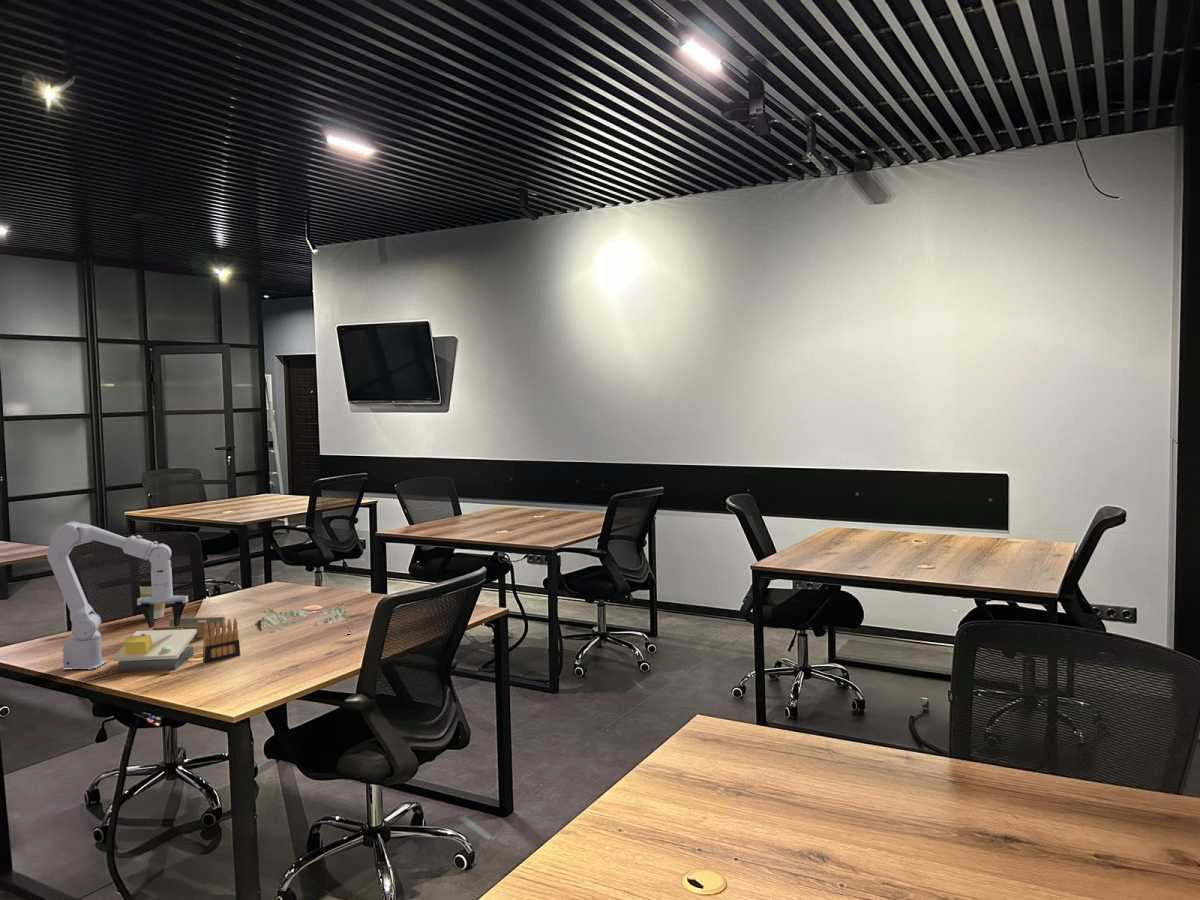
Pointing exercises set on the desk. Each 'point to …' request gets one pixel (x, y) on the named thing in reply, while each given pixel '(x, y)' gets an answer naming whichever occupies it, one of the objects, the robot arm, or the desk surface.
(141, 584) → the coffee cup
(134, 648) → the plate
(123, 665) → the leveling base
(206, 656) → the ammunition clip
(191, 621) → the skate ramp
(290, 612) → the topographic map model
